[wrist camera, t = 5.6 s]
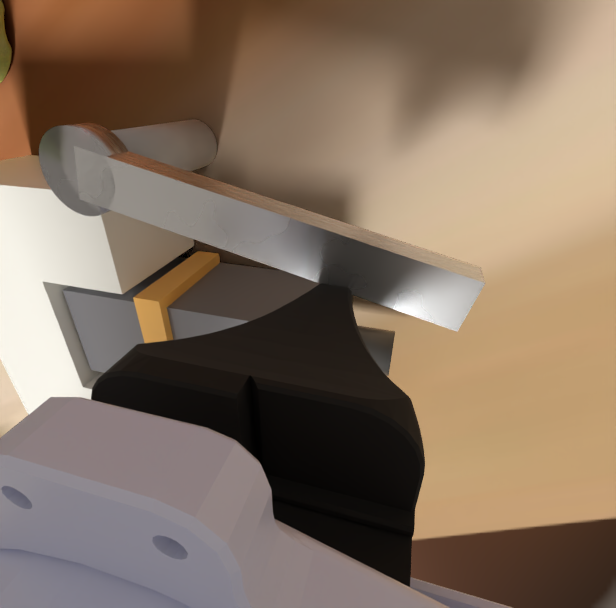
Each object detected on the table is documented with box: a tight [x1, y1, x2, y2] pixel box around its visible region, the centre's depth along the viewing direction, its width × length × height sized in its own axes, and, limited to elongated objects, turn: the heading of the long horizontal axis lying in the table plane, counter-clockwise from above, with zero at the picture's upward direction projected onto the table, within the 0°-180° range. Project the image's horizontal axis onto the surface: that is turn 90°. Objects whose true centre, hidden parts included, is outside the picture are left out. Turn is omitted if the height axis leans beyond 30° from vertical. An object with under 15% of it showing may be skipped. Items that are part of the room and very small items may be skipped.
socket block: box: [0, 119, 217, 415], centre depth 19 cm, size 16×11×6 cm
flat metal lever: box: [39, 123, 485, 331], centre depth 11 cm, size 13×3×1 cm, turn 76°
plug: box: [63, 251, 395, 376], centre depth 18 cm, size 6×15×5 cm, turn 89°
